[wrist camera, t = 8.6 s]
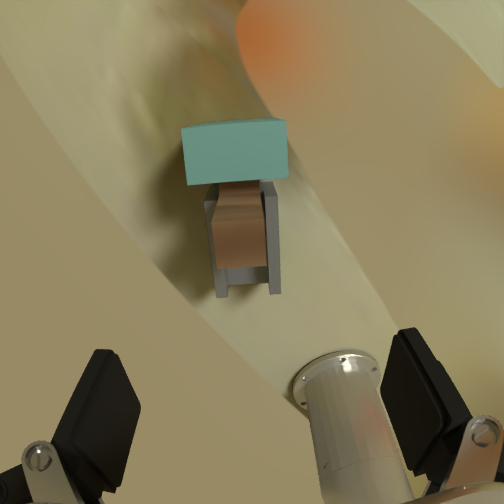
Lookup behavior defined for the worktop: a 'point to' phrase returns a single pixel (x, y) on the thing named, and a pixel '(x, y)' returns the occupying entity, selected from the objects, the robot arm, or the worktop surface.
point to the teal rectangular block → (235, 151)
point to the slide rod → (239, 226)
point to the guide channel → (271, 225)
